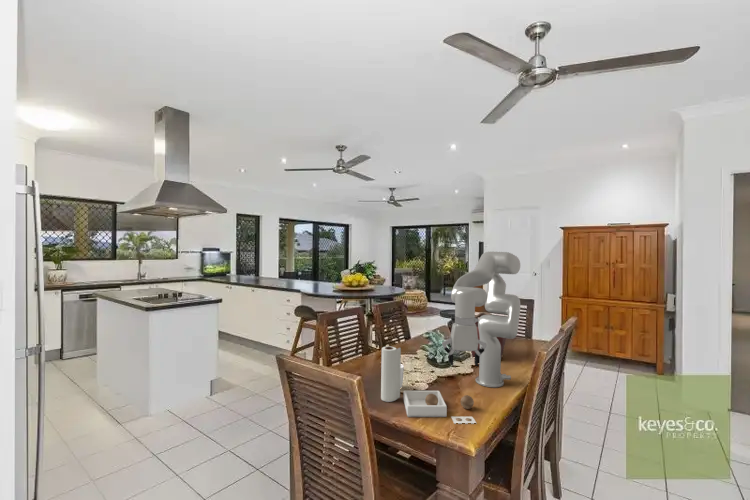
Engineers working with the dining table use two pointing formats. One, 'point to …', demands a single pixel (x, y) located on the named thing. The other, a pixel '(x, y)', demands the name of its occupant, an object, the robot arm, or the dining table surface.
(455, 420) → the card
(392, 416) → the dining table surface
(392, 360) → the paper towel roll
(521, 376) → the dining table surface
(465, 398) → the walnut ball
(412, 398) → the bin
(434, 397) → the ball
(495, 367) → the robot arm
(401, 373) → the white cup
